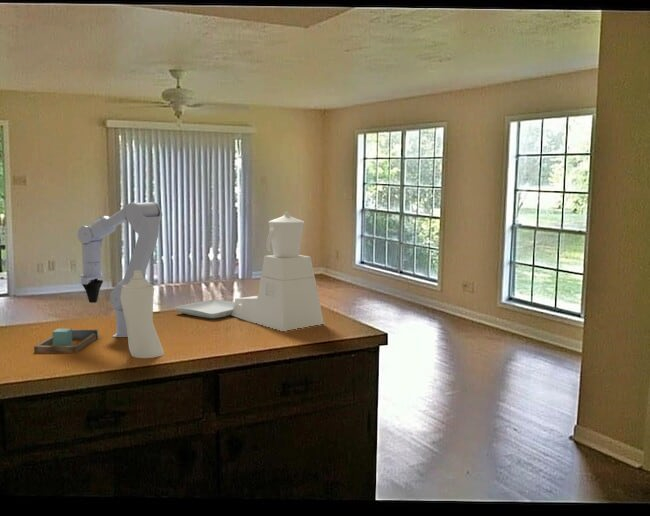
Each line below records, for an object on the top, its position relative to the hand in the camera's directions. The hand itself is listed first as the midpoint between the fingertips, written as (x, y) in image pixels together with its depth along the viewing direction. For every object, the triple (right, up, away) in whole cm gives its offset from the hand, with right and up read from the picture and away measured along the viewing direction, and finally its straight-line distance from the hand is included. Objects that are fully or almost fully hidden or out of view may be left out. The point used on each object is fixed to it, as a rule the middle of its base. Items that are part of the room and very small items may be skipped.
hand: (93, 302), depth 211 cm
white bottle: (+26, -14, -31) cm, 43 cm away
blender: (+60, -9, +17) cm, 62 cm away
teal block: (0, -13, -24) cm, 27 cm away
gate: (0, -11, -12) cm, 16 cm away
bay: (0, -12, -21) cm, 25 cm away
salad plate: (+35, -7, +30) cm, 46 cm away
